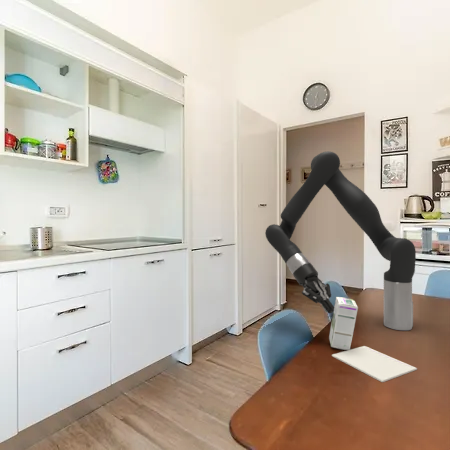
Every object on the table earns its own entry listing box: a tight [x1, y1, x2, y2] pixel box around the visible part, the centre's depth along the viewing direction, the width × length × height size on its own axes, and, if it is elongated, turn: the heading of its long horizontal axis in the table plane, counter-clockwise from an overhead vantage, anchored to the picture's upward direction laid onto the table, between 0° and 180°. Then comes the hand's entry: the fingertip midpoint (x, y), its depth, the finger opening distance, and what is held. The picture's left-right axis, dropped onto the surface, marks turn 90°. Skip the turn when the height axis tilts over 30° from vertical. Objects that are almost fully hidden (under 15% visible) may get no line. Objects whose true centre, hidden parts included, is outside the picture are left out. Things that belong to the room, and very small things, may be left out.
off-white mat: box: [331, 345, 418, 383], centre depth 83 cm, size 14×16×1 cm
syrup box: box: [328, 296, 359, 351], centre depth 92 cm, size 6×6×14 cm
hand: (332, 311), depth 95 cm, fingers closed
